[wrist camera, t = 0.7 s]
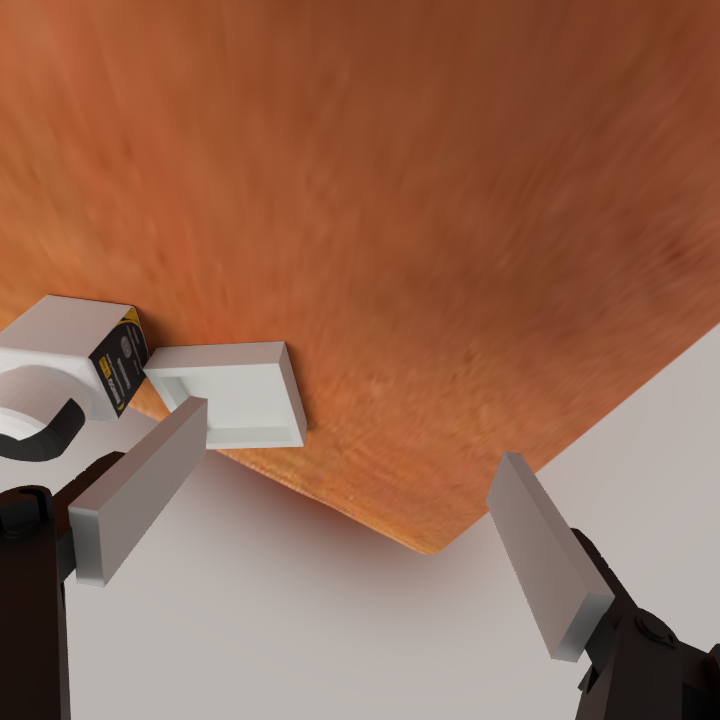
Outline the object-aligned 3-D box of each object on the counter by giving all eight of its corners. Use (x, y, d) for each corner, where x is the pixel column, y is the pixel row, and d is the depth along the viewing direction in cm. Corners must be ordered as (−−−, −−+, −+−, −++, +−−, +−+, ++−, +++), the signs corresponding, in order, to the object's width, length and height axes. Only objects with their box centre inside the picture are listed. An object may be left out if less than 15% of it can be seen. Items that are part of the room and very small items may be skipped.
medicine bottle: (155, 365, 35) (82, 477, 26) (77, 356, 35) (-24, 468, 26) (136, 304, 30) (39, 415, 22) (46, 292, 30) (-92, 401, 21)
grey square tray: (157, 347, 34) (142, 369, 31) (284, 341, 33) (278, 363, 31) (204, 427, 42) (194, 449, 39) (307, 423, 41) (303, 446, 39)
